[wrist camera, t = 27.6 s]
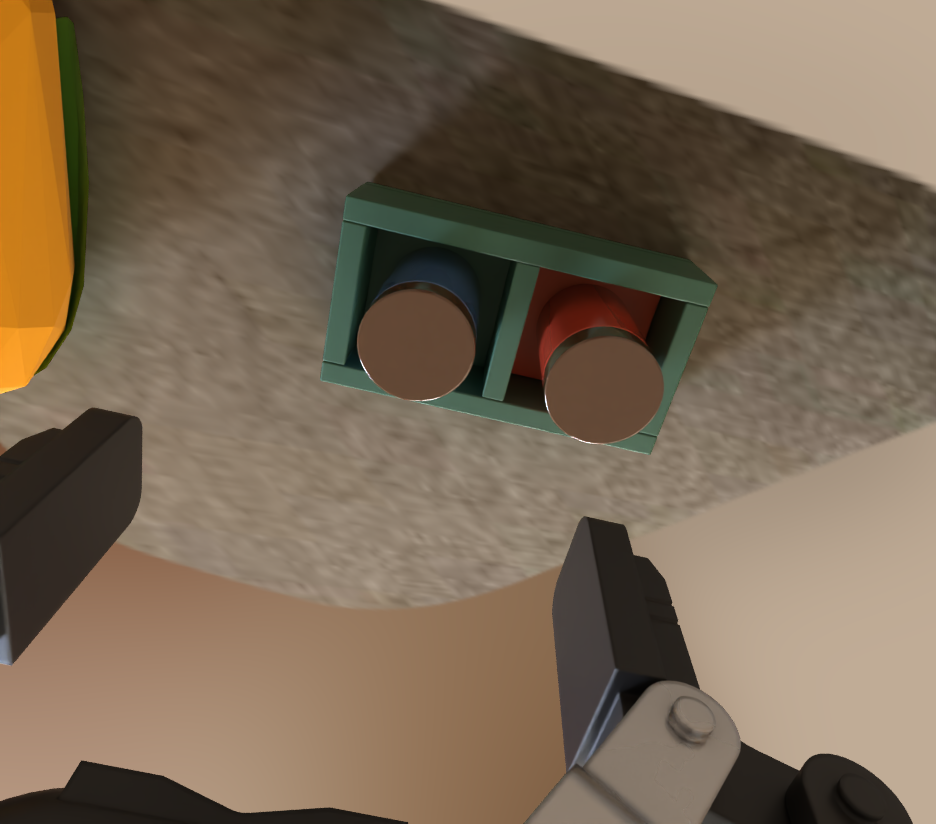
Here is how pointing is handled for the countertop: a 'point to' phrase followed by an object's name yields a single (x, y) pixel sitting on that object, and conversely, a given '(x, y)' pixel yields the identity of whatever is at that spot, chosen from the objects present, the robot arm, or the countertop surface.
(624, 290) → the caddy
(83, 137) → the corn
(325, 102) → the countertop surface
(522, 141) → the countertop surface
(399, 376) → the blue and brown cylinder
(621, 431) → the red pot
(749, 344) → the countertop surface
